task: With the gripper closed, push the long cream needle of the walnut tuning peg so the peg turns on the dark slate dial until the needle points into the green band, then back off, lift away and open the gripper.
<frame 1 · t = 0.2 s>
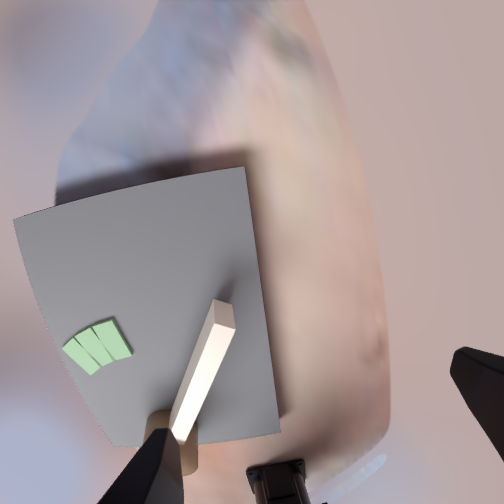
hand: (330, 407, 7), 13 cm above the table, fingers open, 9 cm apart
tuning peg: (187, 403, 19), point 4 cm above the table, hinge at -30.0°
dial plate: (156, 340, 21), on the table
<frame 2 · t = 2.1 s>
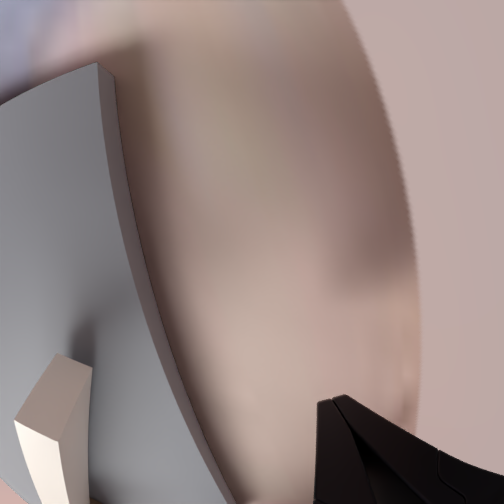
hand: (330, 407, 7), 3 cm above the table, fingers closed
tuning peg: (68, 501, 7), point 4 cm above the table, hinge at -30.0°
dial plate: (27, 397, 10), on the table
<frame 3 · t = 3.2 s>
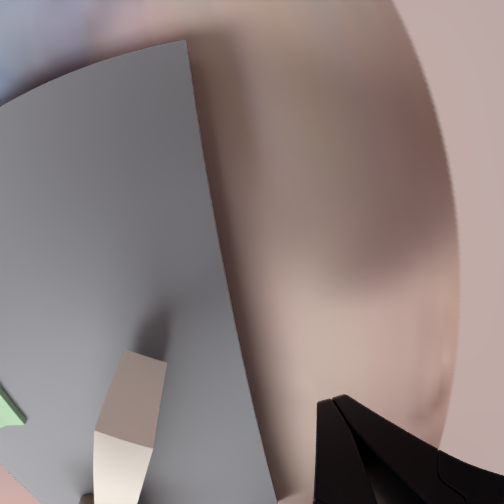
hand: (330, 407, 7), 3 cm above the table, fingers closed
dial plate: (64, 400, 10), on the table
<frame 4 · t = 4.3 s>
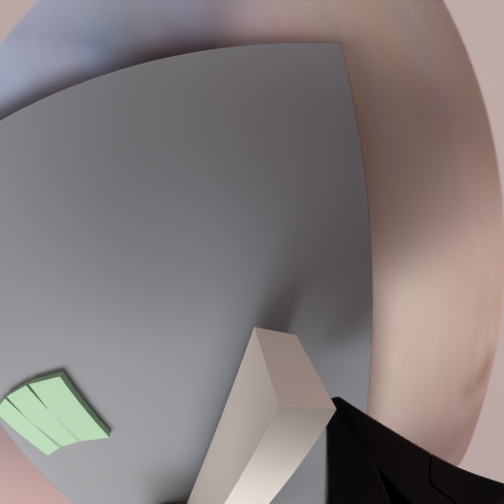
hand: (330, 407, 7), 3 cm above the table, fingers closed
dial plate: (153, 404, 10), on the table
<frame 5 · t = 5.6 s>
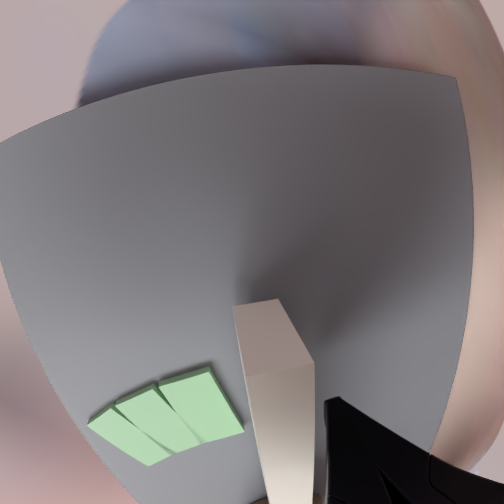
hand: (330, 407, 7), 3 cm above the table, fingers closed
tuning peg: (285, 499, 8), point 4 cm above the table, hinge at -2.6°, touching gripper
dial plate: (278, 392, 11), on the table
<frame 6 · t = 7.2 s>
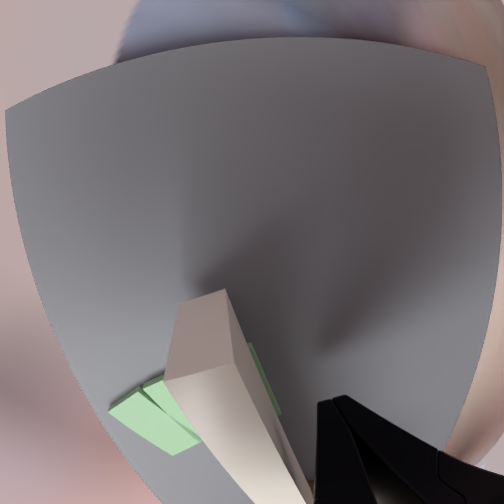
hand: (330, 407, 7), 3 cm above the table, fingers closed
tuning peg: (289, 494, 8), point 4 cm above the table, hinge at 9.1°
dial plate: (311, 373, 11), on the table
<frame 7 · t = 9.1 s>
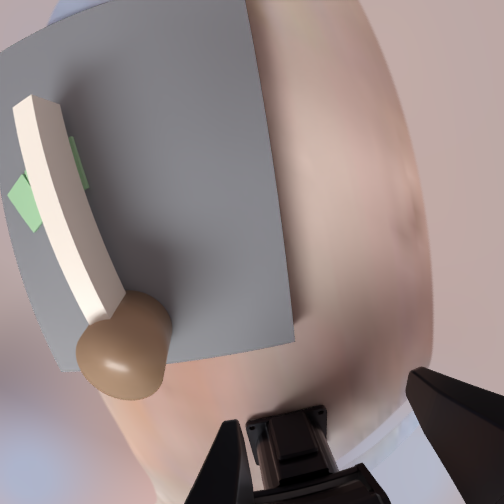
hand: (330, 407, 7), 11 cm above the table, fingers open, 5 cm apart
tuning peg: (80, 248, 13), point 4 cm above the table, hinge at 9.2°
dial plate: (124, 179, 15), on the table
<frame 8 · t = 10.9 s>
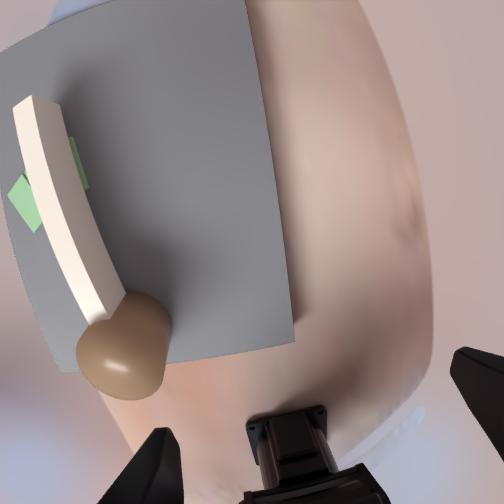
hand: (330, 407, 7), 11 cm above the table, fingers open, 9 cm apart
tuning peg: (80, 248, 13), point 4 cm above the table, hinge at 9.2°
dial plate: (123, 180, 15), on the table
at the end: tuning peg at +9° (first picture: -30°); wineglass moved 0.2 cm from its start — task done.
